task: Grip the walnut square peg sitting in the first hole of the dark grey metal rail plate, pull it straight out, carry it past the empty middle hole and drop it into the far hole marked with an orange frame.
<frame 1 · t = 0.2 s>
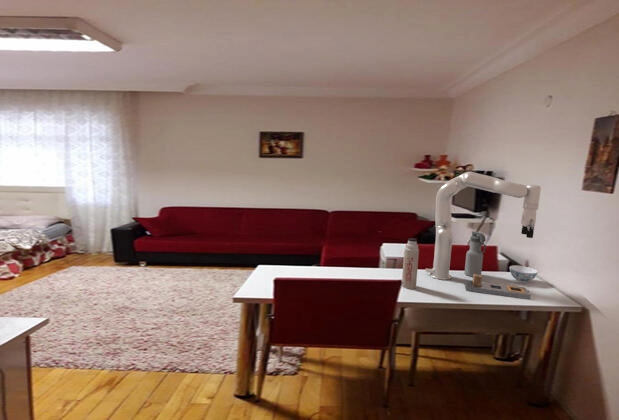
hand: (526, 235, 209), 31 cm above the table, tool pointing down, fingers open, 9 cm apart
peg: (476, 288, 208), resting in rail plate
chinaware: (521, 281, 224), on the table
rail plate: (495, 291, 205), on the table
water bottle: (472, 275, 232), on the table
thermos bottle: (408, 286, 208), on the table
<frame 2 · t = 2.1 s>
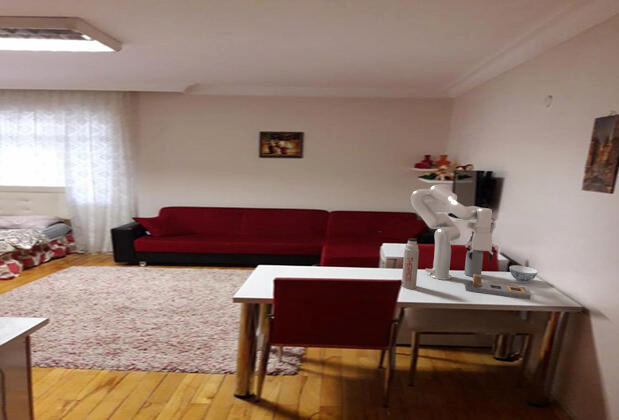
hand: (480, 259, 205), 17 cm above the table, tool pointing down, fingers open, 9 cm apart
nothing on the table moved.
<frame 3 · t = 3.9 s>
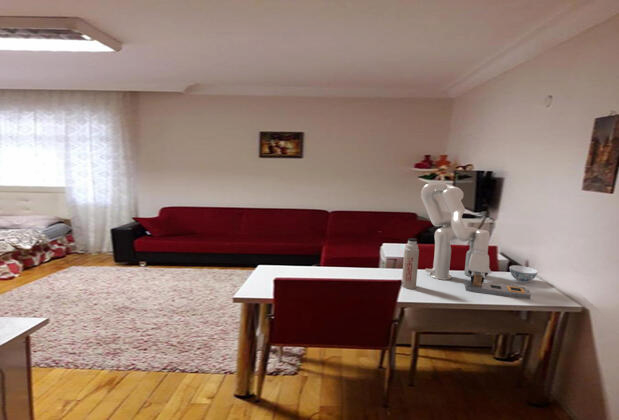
hand: (476, 282, 208), 4 cm above the table, tool pointing down, fingers closed on peg, 4 cm apart
peg: (476, 288, 208), resting in rail plate, touching gripper
everything else where it was.
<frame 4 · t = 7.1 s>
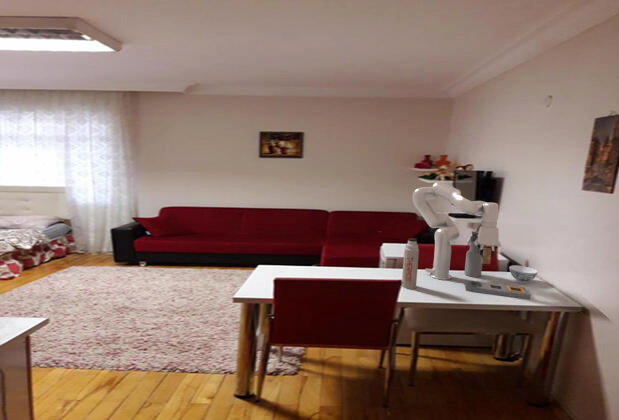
hand: (486, 256, 204), 20 cm above the table, tool pointing down, fingers closed on peg, 4 cm apart
peg: (485, 262, 204), point 16 cm above the table, touching gripper
everything else where it was.
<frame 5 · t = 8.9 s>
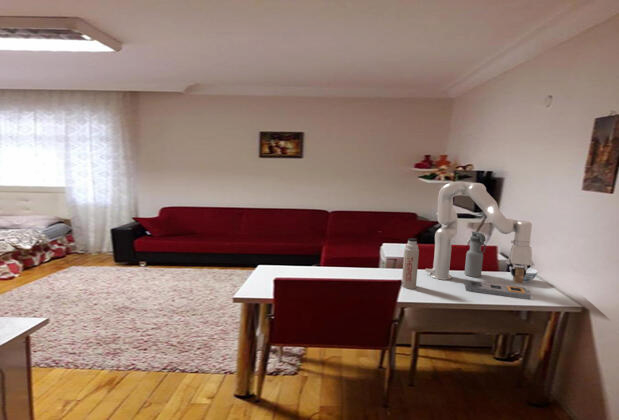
hand: (518, 275, 200), 11 cm above the table, tool pointing down, fingers closed on peg, 4 cm apart
peg: (517, 281, 201), point 7 cm above the table, touching gripper
everything else where it was.
when the fingers open (5 cm above the table, at t = 10.2 s): peg drops 1 cm, resting in rail plate.
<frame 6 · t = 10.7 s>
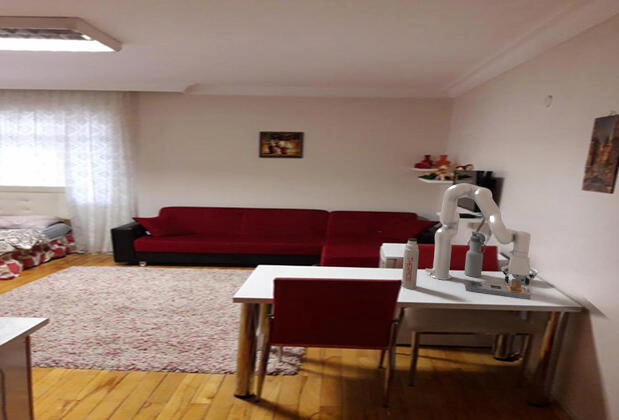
hand: (516, 283, 201), 6 cm above the table, tool pointing down, fingers open, 9 cm apart
peg: (515, 293, 202), resting in rail plate
everything else where it was.
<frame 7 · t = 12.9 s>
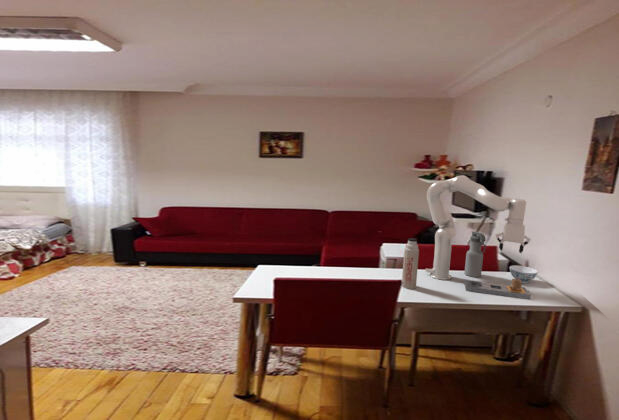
hand: (510, 251, 203), 23 cm above the table, tool pointing down, fingers open, 9 cm apart
nothing on the table moved.
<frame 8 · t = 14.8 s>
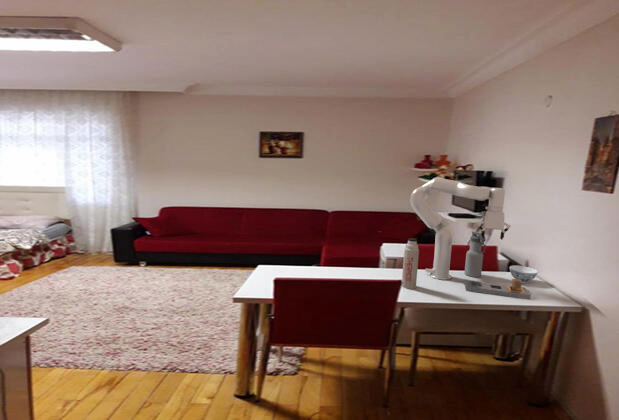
hand: (492, 238, 211), 28 cm above the table, tool pointing down, fingers open, 9 cm apart
nothing on the table moved.
at the end: peg 0.0 cm from the target spot on the rail plate, point 0.0 cm above the rail plate's base; peg tilted 0°; the gripper is holding nothing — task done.
